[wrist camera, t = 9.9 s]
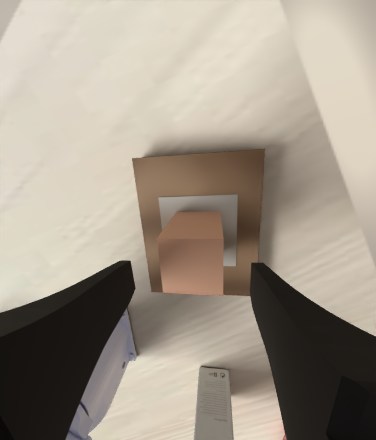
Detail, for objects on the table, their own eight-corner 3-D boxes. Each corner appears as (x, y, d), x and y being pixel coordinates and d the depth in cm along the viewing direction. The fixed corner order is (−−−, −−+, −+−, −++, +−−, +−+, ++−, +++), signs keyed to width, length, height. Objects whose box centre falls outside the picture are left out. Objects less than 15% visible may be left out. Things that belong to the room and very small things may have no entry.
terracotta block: (220, 251, 17) (223, 295, 12) (179, 251, 18) (163, 292, 12) (220, 211, 16) (223, 238, 11) (176, 211, 17) (156, 238, 11)
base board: (251, 283, 20) (255, 296, 18) (157, 280, 22) (151, 292, 20) (258, 150, 16) (265, 148, 14) (140, 158, 18) (131, 158, 16)
